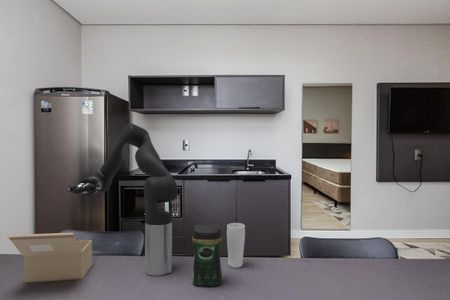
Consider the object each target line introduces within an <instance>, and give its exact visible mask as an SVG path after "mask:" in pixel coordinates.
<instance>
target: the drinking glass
mask: <svg viewBox="0 0 450 300" xmlns="http://www.w3.org/2000/svg"><path fill="white" fill-rule="evenodd" d="M226 241H227V242H226V243H227V244H226V245H227V246H226V247H227V256H228V262H227V263H228V266H229V267H231V268H234V269H236V268H237V269H238V268H241V267H243V265H244V264H243V263H244V262H243V261H244V250H245V241H246V225H245V224H243V223H241V222H240V223H239V222H231V223H228V224H227V225H226Z"/></svg>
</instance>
